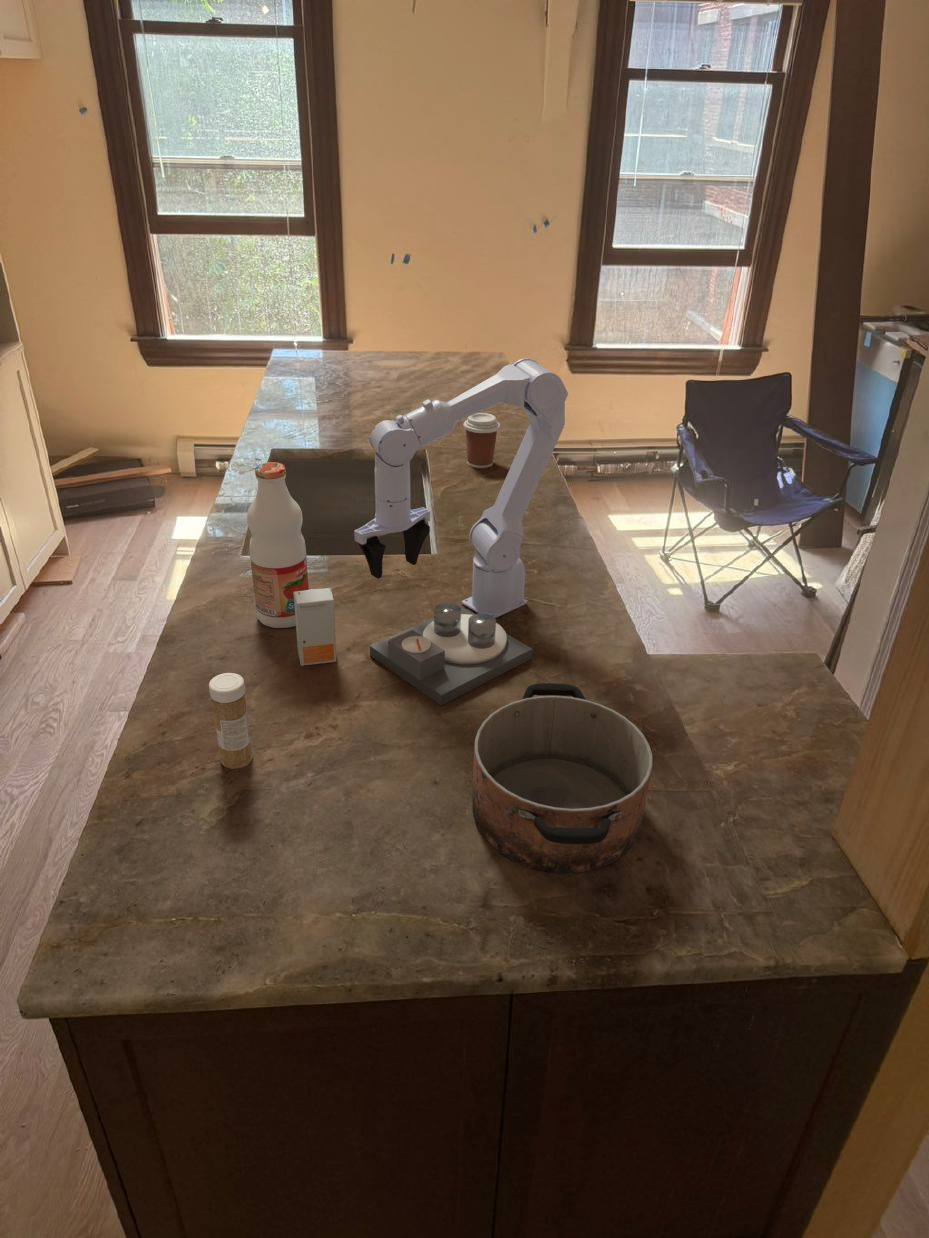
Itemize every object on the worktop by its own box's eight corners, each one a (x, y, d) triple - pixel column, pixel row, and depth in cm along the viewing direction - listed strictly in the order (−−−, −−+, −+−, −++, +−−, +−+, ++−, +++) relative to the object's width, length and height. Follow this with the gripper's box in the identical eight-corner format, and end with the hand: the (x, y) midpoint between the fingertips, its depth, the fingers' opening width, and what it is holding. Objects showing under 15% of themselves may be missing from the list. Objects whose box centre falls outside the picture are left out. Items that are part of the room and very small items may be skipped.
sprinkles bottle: (222, 749, 124) (211, 671, 117) (255, 748, 125) (245, 670, 118) (218, 771, 120) (205, 692, 113) (251, 769, 121) (241, 690, 114)
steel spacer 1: (447, 620, 150) (447, 599, 148) (466, 630, 148) (466, 609, 146) (428, 629, 147) (428, 609, 145) (447, 640, 145) (447, 619, 143)
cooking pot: (470, 737, 128) (473, 677, 123) (622, 740, 129) (631, 680, 123) (473, 899, 103) (476, 833, 97) (662, 903, 103) (676, 837, 98)
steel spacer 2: (481, 631, 148) (482, 610, 145) (500, 642, 145) (501, 621, 143) (462, 640, 145) (462, 619, 143) (480, 651, 142) (481, 631, 140)
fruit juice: (265, 600, 160) (250, 455, 146) (316, 604, 159) (306, 458, 145) (250, 627, 152) (232, 476, 137) (303, 631, 151) (291, 480, 137)
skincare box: (300, 667, 142) (295, 603, 136) (297, 653, 146) (292, 590, 139) (338, 662, 144) (334, 599, 137) (334, 648, 147) (330, 586, 141)
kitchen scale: (459, 615, 157) (460, 586, 154) (531, 658, 146) (533, 628, 143) (370, 655, 146) (369, 624, 143) (441, 705, 134) (441, 673, 131)
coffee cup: (456, 459, 223) (457, 413, 217) (488, 454, 227) (490, 409, 220) (471, 472, 216) (473, 425, 210) (504, 467, 220) (507, 420, 213)
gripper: (411, 477, 149) (411, 548, 157) (341, 499, 141) (345, 573, 148) (438, 490, 145) (437, 563, 152) (368, 513, 137) (370, 589, 144)
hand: (394, 569), depth 150 cm, fingers open, 7 cm apart
